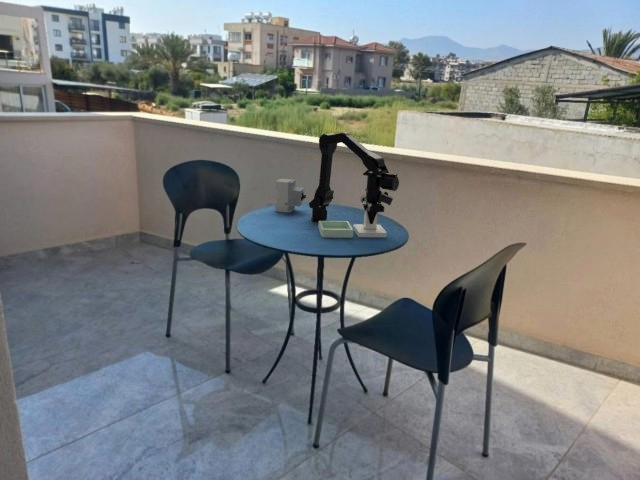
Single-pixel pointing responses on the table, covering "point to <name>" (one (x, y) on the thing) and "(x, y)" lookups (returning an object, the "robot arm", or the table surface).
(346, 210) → the table surface
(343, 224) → the parts tray
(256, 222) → the table surface
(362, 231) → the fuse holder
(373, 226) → the block
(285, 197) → the circuit breaker
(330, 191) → the robot arm
